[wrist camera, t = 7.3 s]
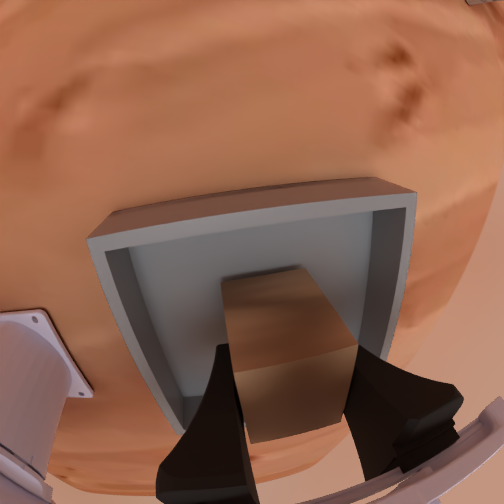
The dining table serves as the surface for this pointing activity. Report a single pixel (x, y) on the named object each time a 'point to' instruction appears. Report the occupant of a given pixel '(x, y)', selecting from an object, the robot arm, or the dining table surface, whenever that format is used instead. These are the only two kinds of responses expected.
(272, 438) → the block
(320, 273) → the bin
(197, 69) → the dining table surface
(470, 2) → the coffee box
